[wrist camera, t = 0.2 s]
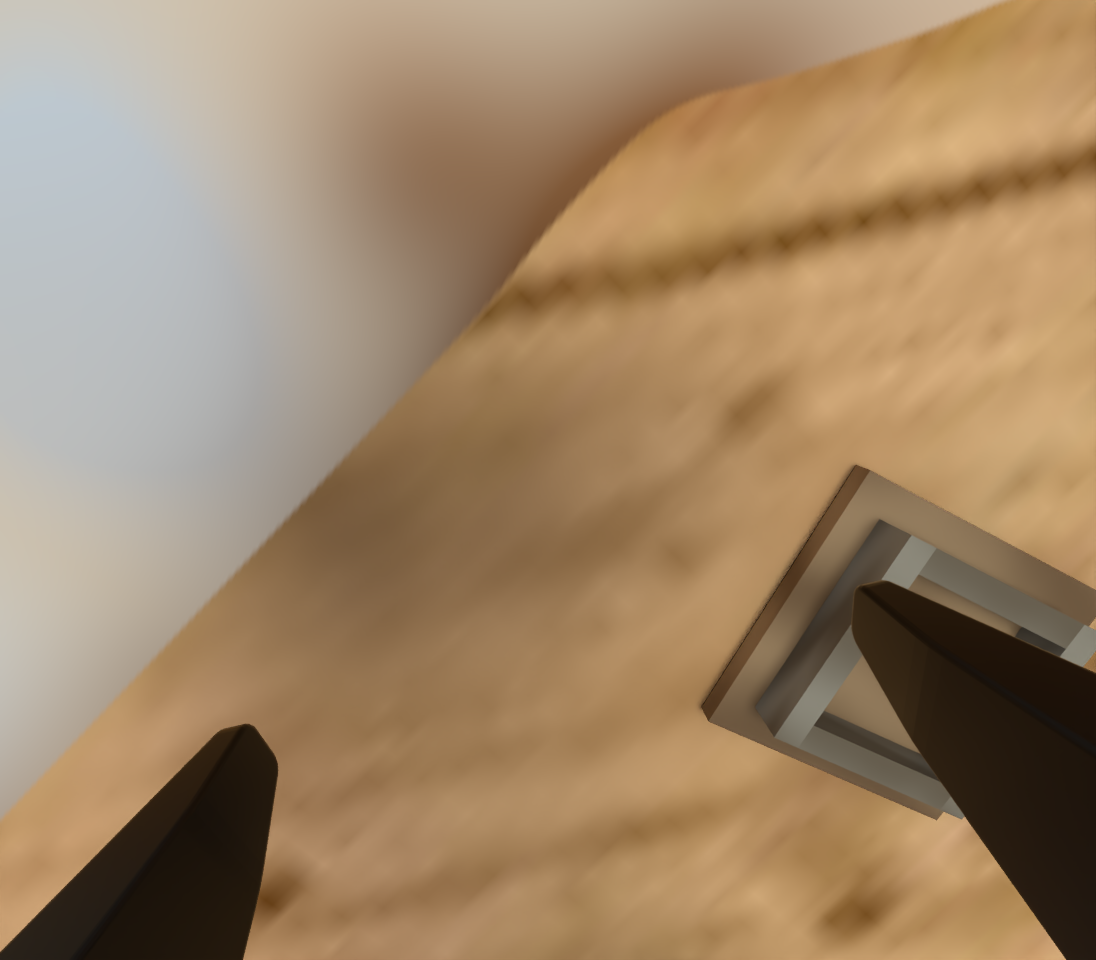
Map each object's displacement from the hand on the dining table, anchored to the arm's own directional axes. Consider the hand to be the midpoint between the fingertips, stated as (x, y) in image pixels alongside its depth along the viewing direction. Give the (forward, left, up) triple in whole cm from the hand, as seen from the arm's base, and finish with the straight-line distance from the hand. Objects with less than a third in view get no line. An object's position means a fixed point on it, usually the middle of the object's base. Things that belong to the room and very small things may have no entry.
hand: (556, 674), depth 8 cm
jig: (-1, -19, -15) cm, 24 cm away
